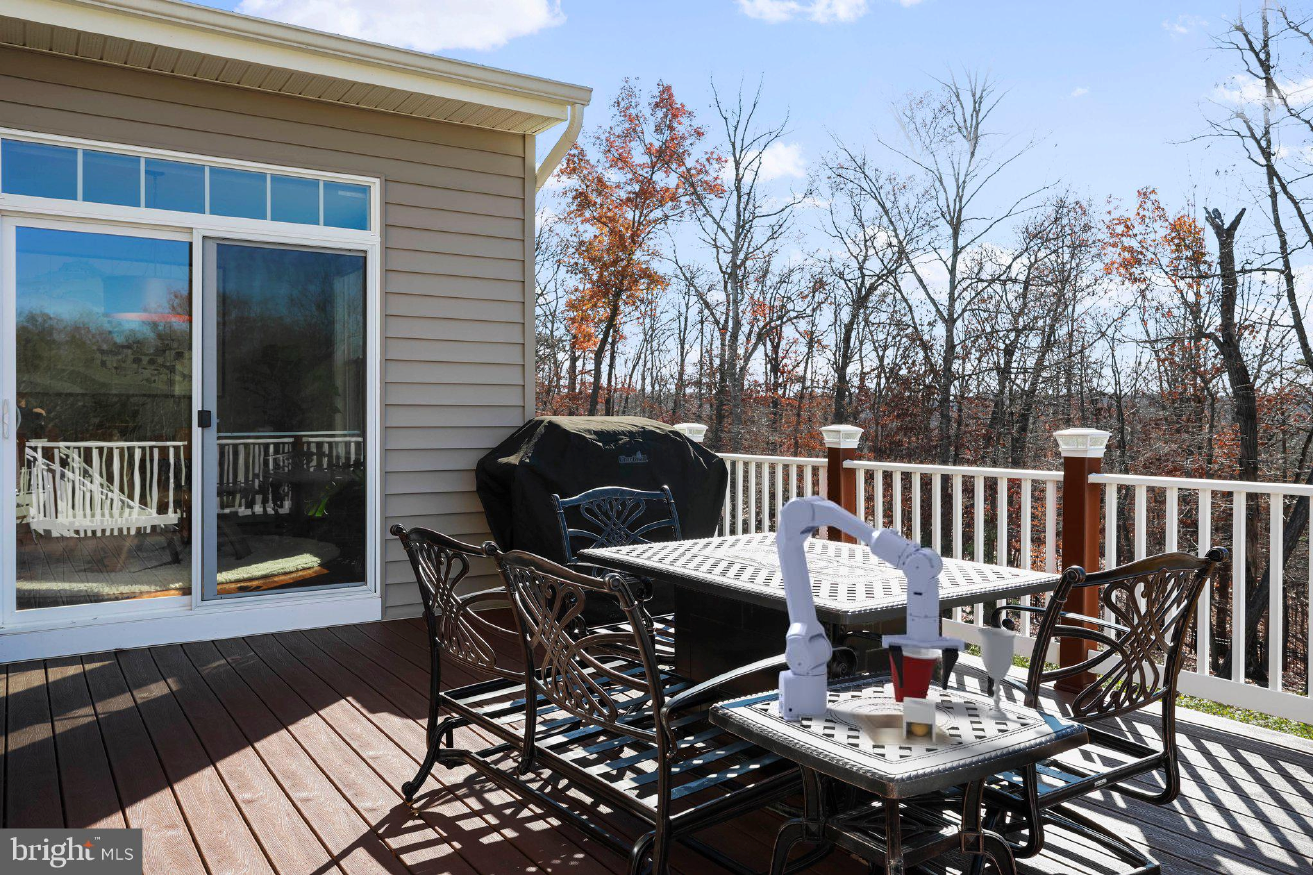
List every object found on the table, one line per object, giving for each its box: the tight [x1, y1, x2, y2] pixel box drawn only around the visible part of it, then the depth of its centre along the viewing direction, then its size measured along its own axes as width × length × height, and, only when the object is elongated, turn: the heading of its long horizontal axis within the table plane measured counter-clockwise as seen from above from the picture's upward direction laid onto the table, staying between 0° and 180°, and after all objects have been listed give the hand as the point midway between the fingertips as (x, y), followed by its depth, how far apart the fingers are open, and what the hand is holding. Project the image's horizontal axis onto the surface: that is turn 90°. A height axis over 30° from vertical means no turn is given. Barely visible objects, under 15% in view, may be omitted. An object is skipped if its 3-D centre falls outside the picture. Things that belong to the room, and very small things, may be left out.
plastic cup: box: [888, 648, 941, 703], centre depth 179 cm, size 11×11×12 cm
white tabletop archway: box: [902, 697, 937, 742], centre depth 156 cm, size 6×6×6 cm
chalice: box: [977, 627, 1017, 722], centre depth 167 cm, size 7×7×18 cm
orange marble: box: [911, 722, 928, 736], centre depth 156 cm, size 3×3×3 cm
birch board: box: [849, 713, 959, 746], centre depth 160 cm, size 15×17×1 cm
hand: (922, 687), depth 158 cm, fingers open, 7 cm apart
